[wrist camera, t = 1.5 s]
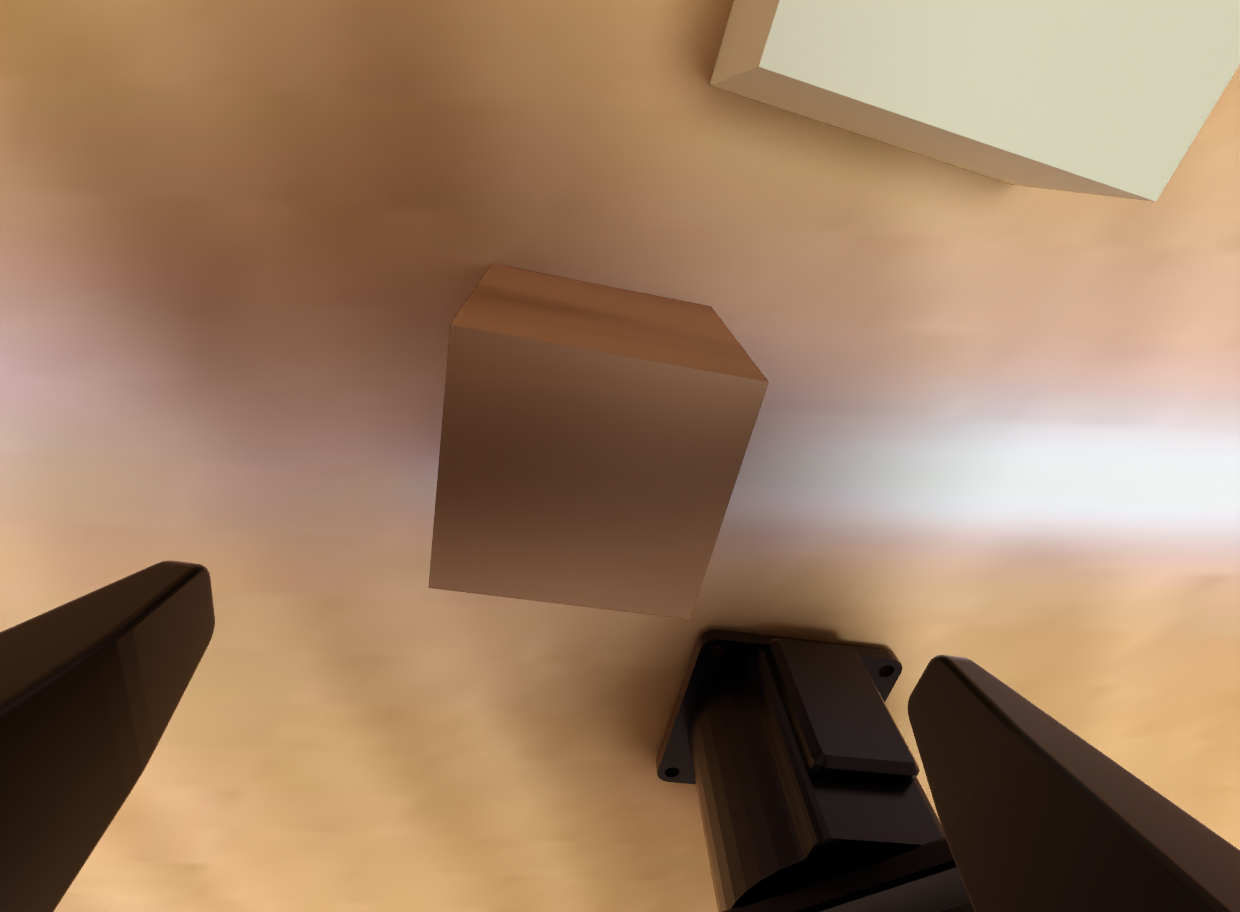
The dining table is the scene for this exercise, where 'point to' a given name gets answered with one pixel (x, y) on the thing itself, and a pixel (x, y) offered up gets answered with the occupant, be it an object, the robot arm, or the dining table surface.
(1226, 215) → the dining table surface
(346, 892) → the dining table surface
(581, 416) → the walnut cube
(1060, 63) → the base block
